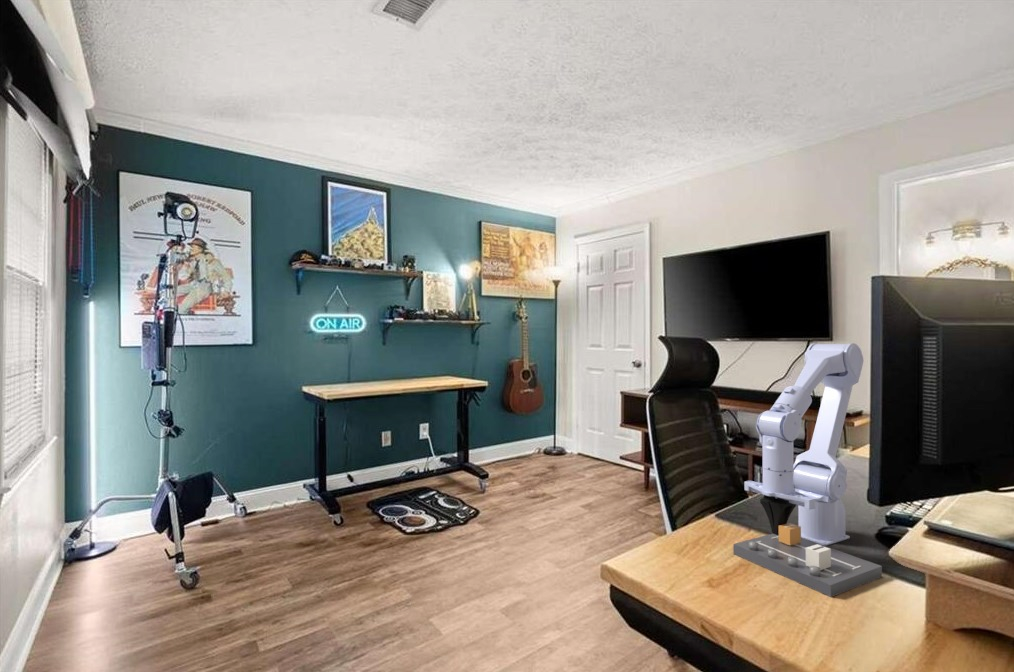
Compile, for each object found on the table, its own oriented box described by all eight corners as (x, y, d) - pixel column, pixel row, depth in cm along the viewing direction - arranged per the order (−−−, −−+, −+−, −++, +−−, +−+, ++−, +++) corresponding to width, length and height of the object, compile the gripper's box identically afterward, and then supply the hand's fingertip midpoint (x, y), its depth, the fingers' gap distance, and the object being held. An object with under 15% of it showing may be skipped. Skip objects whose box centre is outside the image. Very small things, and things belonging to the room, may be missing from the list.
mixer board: (783, 539, 107) (783, 525, 107) (882, 577, 90) (881, 559, 90) (733, 553, 99) (733, 538, 100) (830, 597, 83) (830, 577, 83)
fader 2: (817, 561, 91) (817, 543, 91) (830, 566, 89) (830, 548, 89) (805, 565, 90) (805, 547, 90) (819, 570, 87) (818, 552, 87)
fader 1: (789, 538, 102) (789, 522, 102) (800, 542, 100) (800, 526, 100) (778, 541, 101) (778, 525, 101) (789, 545, 98) (789, 529, 98)
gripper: (735, 463, 107) (735, 525, 107) (799, 479, 94) (800, 550, 94) (756, 459, 111) (756, 520, 110) (821, 475, 98) (822, 543, 97)
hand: (778, 533), depth 103 cm, fingers closed
